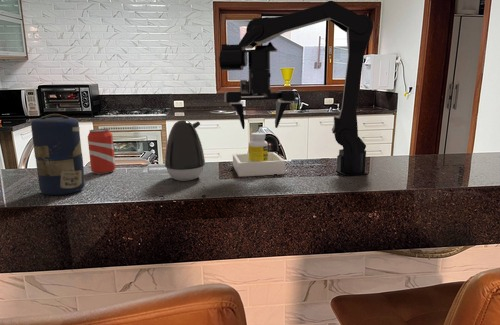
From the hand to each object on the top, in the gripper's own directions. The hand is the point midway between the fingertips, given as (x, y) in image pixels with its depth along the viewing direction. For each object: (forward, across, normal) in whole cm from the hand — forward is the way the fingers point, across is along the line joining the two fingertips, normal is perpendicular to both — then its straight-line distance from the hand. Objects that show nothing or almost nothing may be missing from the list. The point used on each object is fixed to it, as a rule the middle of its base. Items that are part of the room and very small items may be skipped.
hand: (260, 128), depth 100 cm
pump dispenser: (+12, +21, +5) cm, 24 cm away
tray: (+12, +1, 0) cm, 12 cm away
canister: (+12, +49, +11) cm, 51 cm away
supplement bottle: (+11, +1, 0) cm, 11 cm away
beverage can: (+12, +44, -7) cm, 46 cm away
